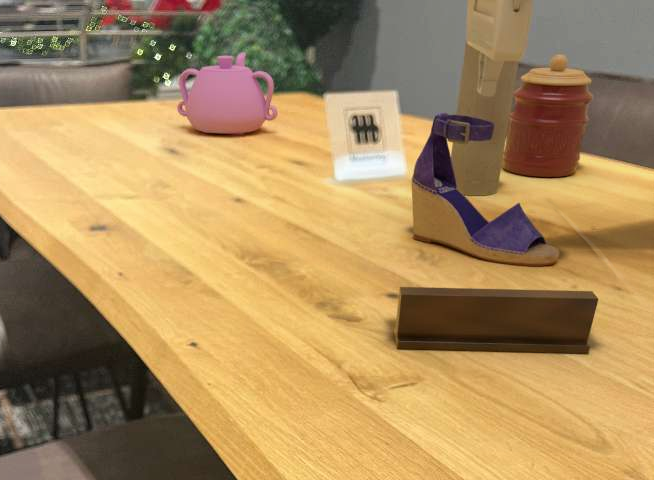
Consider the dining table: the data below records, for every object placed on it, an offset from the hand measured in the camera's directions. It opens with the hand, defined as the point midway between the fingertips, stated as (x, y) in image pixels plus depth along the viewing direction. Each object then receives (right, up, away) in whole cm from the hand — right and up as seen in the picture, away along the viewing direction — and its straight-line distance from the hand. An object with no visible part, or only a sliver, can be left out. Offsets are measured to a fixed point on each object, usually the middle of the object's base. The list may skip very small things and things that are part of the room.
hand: (485, 95), depth 96 cm
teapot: (-37, +29, +69) cm, 83 cm away
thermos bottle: (+5, -1, +27) cm, 27 cm away
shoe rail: (-6, -36, -22) cm, 43 cm away
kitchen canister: (+20, +7, +39) cm, 44 cm away
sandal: (0, -19, +2) cm, 19 cm away
